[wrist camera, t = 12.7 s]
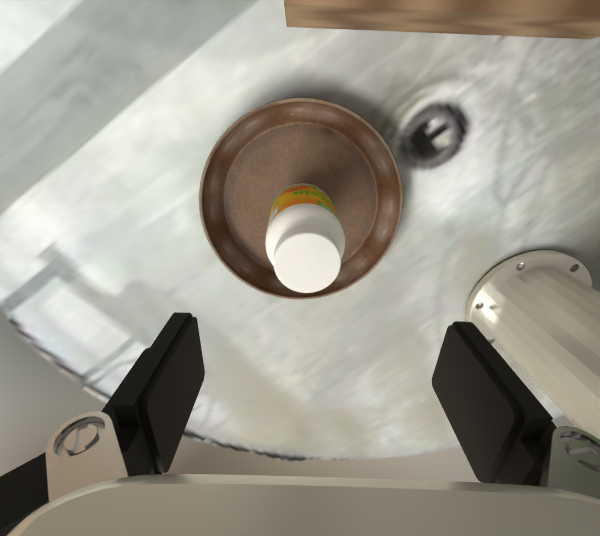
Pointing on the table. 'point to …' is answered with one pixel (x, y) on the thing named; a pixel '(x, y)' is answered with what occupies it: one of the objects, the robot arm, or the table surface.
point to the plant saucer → (296, 170)
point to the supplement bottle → (304, 239)
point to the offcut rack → (452, 16)
